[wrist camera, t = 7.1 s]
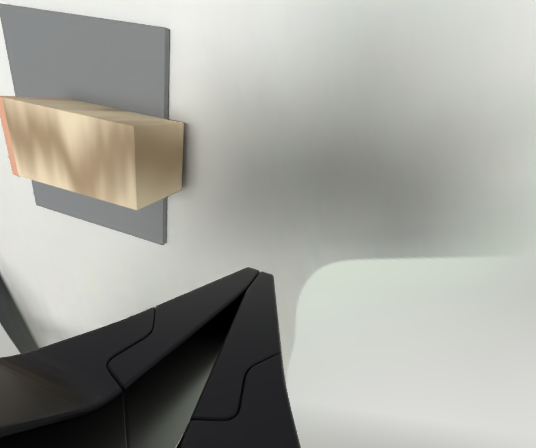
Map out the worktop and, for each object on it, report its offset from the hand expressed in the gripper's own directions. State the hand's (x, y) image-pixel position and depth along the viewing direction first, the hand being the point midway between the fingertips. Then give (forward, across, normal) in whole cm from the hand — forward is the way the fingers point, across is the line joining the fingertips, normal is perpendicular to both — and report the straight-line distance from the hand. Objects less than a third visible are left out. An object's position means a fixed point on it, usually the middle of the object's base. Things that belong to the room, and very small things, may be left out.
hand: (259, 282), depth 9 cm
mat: (+12, +18, 0) cm, 22 cm away
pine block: (+9, +10, 0) cm, 13 cm away
